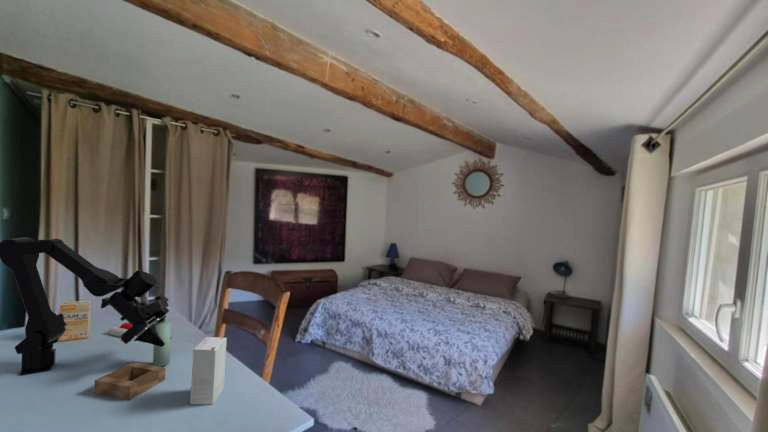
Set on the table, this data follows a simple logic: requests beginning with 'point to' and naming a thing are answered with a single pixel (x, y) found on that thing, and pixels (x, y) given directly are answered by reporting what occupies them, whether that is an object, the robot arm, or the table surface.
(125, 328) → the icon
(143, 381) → the square wooden frame
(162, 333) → the sage peg
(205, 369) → the skincare box
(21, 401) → the table surface
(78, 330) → the supplement box
